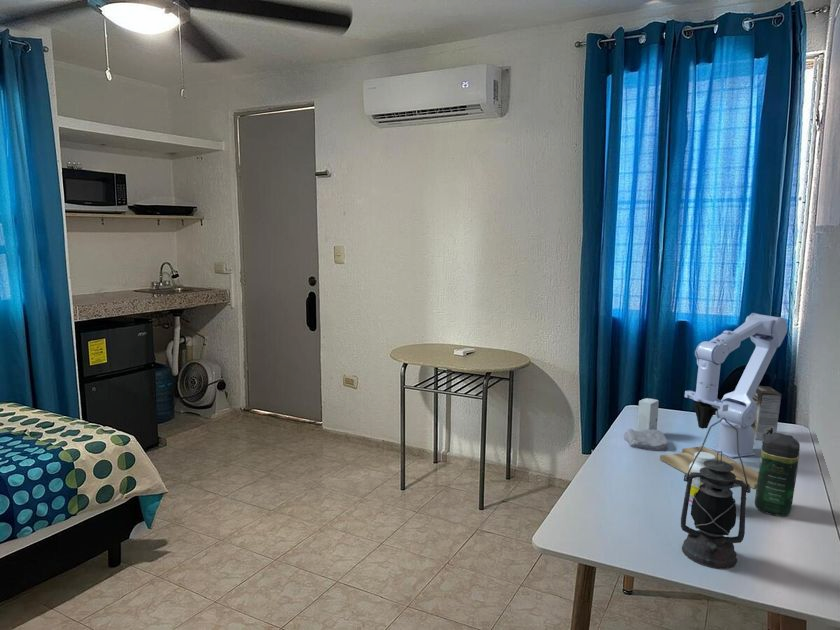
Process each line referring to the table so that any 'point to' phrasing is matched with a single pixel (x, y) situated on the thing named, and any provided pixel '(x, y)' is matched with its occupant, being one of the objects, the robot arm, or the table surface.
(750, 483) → the laid floor row
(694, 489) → the supplement bottle
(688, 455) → the board
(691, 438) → the table surface
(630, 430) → the stone block
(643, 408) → the skincare box
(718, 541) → the lantern
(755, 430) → the coffee box
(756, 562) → the table surface
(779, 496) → the coffee jar
